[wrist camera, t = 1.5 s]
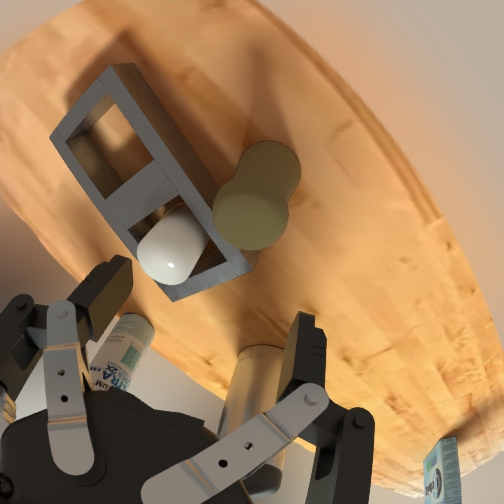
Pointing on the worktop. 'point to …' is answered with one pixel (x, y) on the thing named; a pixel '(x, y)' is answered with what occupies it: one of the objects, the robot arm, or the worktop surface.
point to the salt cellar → (173, 246)
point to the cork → (257, 196)
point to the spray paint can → (121, 353)
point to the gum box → (442, 474)
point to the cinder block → (146, 174)
